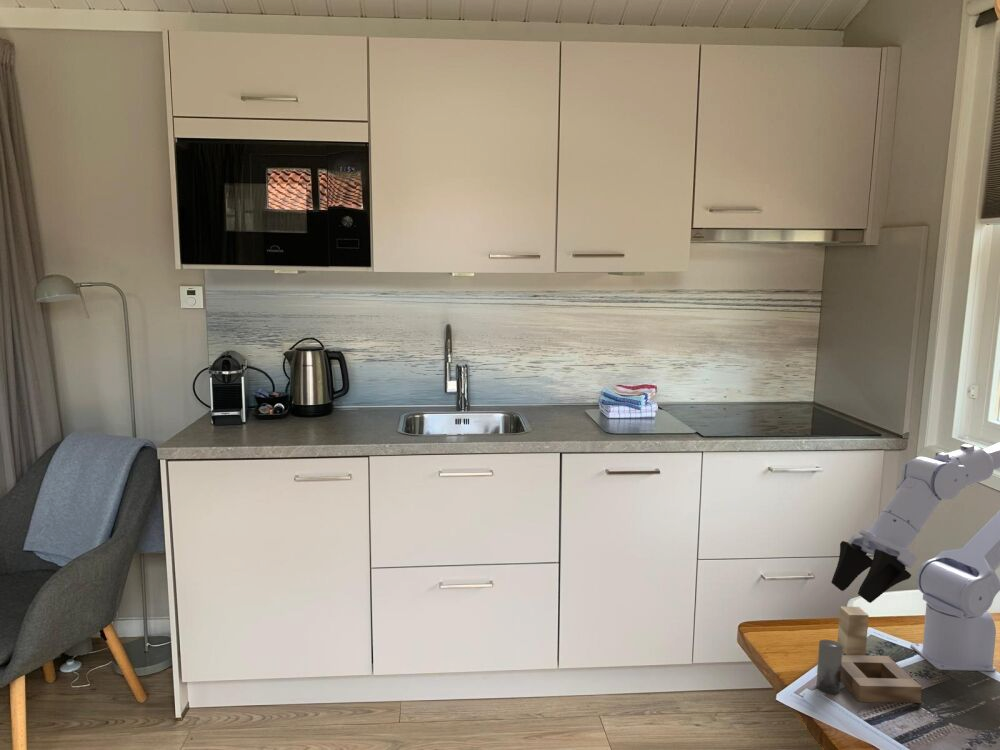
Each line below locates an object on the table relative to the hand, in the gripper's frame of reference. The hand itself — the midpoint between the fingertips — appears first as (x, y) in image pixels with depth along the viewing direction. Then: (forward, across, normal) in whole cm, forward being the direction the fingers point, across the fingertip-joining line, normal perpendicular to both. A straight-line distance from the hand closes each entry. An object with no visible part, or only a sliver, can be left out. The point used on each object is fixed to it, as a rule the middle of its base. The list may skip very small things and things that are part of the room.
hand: (849, 592), depth 109 cm
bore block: (+9, +1, +11) cm, 14 cm away
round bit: (+14, +1, +5) cm, 15 cm away
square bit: (+6, -10, +12) cm, 16 cm away
